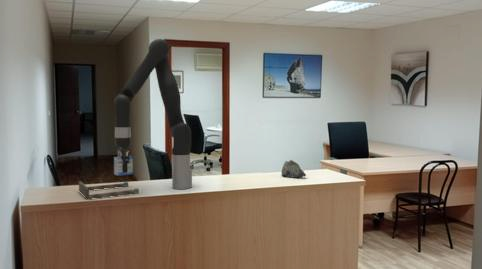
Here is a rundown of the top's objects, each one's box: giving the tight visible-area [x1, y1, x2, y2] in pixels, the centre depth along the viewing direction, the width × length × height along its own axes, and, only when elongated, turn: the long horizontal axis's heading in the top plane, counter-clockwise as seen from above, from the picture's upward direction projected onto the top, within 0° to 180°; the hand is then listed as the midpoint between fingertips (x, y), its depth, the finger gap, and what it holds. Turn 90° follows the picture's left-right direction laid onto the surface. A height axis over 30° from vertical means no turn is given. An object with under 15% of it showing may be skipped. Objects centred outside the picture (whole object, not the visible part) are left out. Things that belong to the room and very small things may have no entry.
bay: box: [78, 181, 140, 200], centre depth 216 cm, size 24×19×5 cm
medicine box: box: [113, 155, 134, 177], centre depth 216 cm, size 8×4×9 cm, turn 126°
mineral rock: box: [281, 159, 307, 179], centre depth 253 cm, size 13×11×10 cm
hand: (123, 171), depth 216 cm, fingers closed on medicine box, 4 cm apart
